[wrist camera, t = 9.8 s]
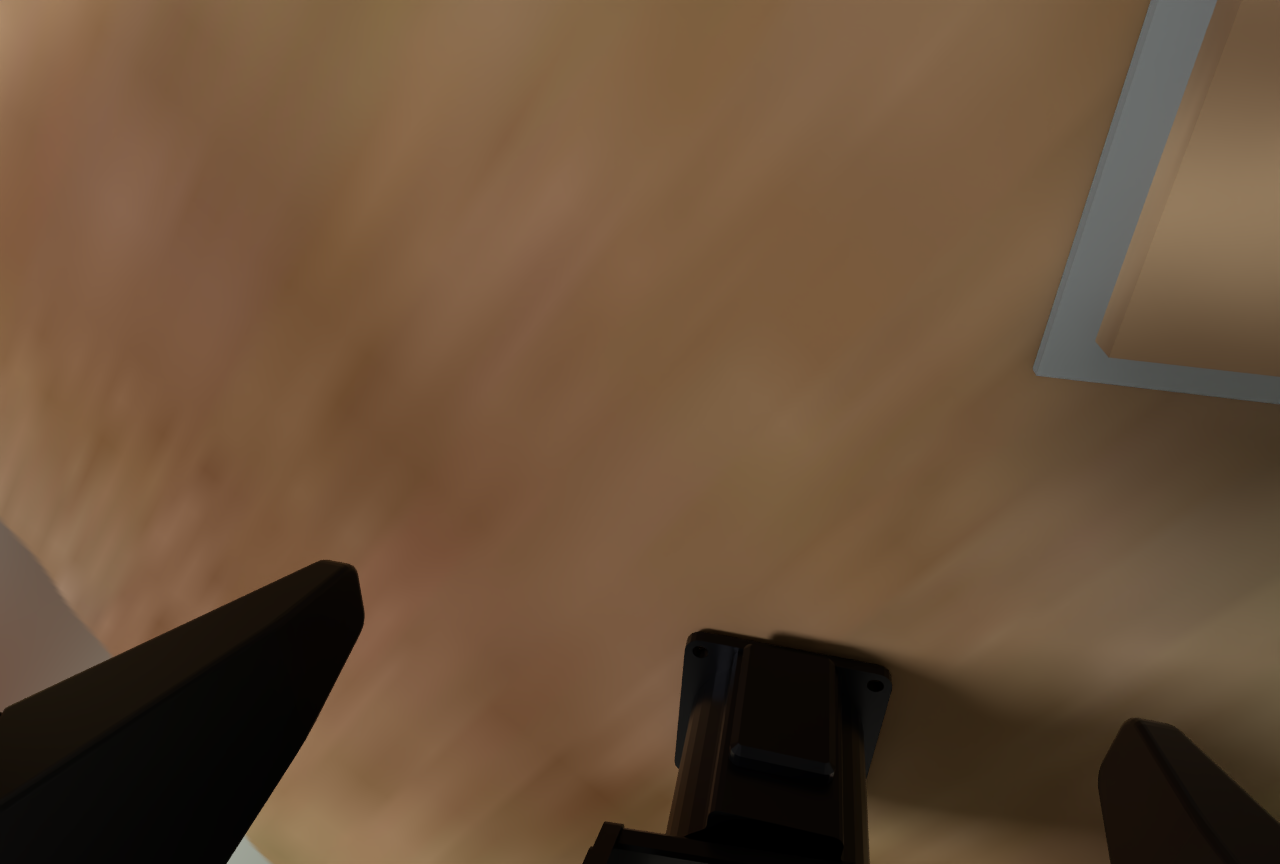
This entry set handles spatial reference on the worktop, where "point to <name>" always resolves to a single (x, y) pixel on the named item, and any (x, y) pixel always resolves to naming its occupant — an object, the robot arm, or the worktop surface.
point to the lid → (1212, 213)
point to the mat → (1134, 219)
